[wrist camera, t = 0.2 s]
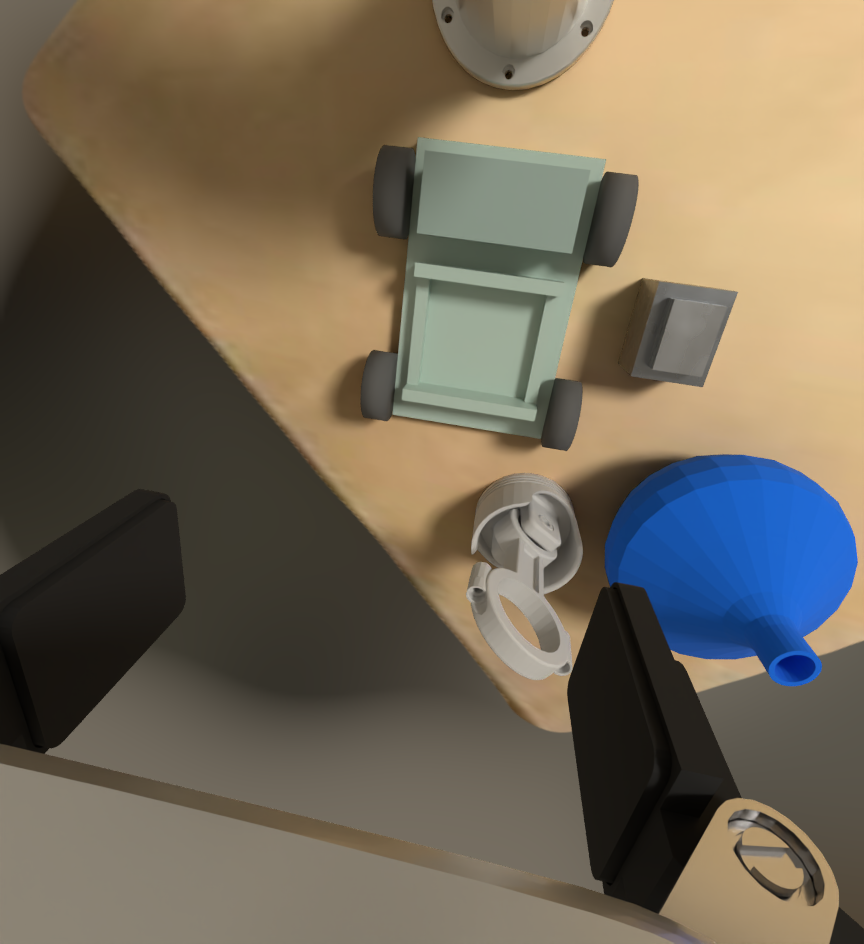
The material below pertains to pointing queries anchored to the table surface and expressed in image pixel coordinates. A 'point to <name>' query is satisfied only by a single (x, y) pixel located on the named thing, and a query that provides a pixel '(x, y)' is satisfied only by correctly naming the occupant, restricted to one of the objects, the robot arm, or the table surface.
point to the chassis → (490, 281)
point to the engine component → (524, 569)
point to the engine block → (675, 331)
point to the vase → (736, 559)
